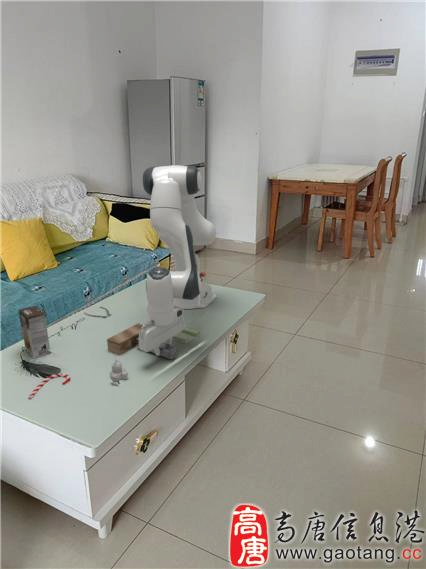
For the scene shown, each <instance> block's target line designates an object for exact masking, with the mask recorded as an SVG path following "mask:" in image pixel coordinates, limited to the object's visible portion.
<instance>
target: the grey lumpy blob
mask: <svg viewBox="0 0 426 569" xmlns="http://www.w3.org/2000/svg"><path fill="white" fill-rule="evenodd" d="M110 368H111V371H110V372H109V378H110V380H111V381H112V382H114V383H119V382H120V381H121V380H127V379H128V374H129V372H128V371H126V369H125V368H123V363H122V362H121V361H120V360H119V359H117V358H114V362H113V363H112V365H111V367H110Z"/></svg>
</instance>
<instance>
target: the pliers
mask: <svg viewBox="0 0 426 569" xmlns="http://www.w3.org/2000/svg"><path fill="white" fill-rule="evenodd" d="M99 308H100V309H103V310H105V311H106V315H107V316H106V315H94V314H89V313H87V312H85V311H84V312H83V314H84V315H86V316H89V317H91V318H92V317H93V318H103V319H106V318H109V317H111V316H112V314H111V313H110V312H109V310H108V308H106V307H103V306H99Z"/></svg>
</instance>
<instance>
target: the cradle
mask: <svg viewBox="0 0 426 569" xmlns="http://www.w3.org/2000/svg"><path fill="white" fill-rule="evenodd" d="M199 336H200V331H198V330H197V329H192V328H189V327H186V326H184V329H183V331H182V332H180V333H178V334H177V335H175V336H173V337H172V341H173V340H174V341H176V342H179V343H182V344H188V343H189V342H190V341H193V340H194V339H195V338H197V337H199Z"/></svg>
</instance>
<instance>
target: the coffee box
mask: <svg viewBox="0 0 426 569" xmlns="http://www.w3.org/2000/svg"><path fill="white" fill-rule="evenodd" d="M18 315H19V319H20V324H21V325H20V326H21V331H22V336H23V337H22V338H23V342H24V348H25V351H27V353H29V355H30V356H31V358H33V359H37V358H40V357H43V356H46V355H49V354H51V350H50V349H51V347H50V341H49V333H48V326H47V319H46V313H45V312H44V311H43V310H42V309H40V307H38V306H37V305H33V306H28V307H22V308H20V309H18Z"/></svg>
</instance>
